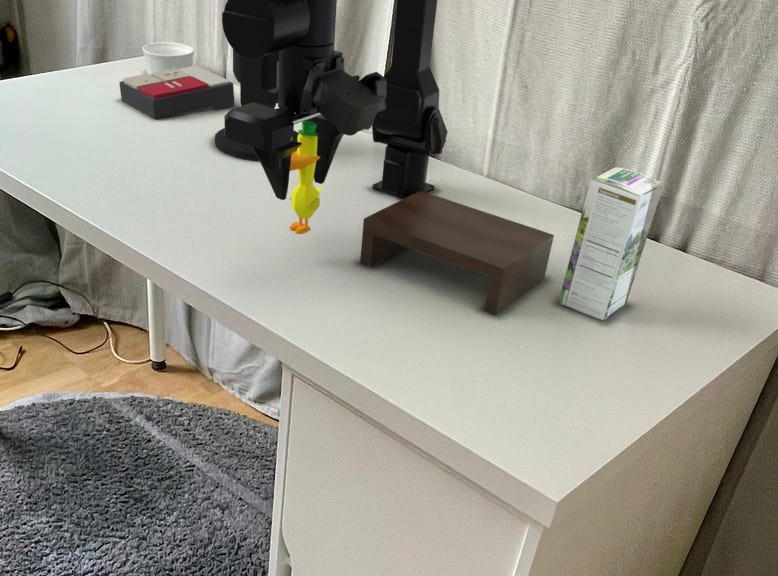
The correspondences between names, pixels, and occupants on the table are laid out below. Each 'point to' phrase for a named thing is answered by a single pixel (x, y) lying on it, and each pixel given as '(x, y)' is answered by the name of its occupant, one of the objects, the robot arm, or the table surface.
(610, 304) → the syrup box
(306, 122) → the toy figure
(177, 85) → the grey and red case
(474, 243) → the shelf
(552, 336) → the table surface
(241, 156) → the microphone
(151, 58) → the ramekin
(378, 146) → the table surface
